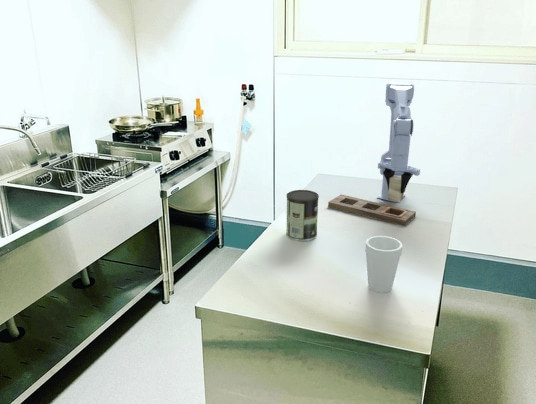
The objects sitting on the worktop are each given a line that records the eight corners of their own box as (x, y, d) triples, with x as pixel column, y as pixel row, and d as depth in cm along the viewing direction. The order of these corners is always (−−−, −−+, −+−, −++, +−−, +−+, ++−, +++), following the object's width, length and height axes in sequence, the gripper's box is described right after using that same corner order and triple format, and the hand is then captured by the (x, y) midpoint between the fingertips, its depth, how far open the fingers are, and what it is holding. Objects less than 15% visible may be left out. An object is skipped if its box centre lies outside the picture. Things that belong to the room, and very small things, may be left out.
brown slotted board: (340, 199, 205) (341, 193, 205) (415, 216, 189) (416, 211, 188) (328, 206, 198) (328, 201, 197) (404, 225, 182) (405, 220, 181)
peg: (392, 196, 189) (394, 175, 186) (403, 198, 187) (405, 177, 184) (387, 199, 186) (389, 177, 183) (398, 202, 184) (400, 180, 181)
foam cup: (373, 274, 150) (377, 232, 145) (403, 285, 144) (408, 242, 139) (356, 287, 143) (359, 244, 138) (387, 299, 137) (391, 254, 133)
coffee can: (316, 228, 179) (317, 189, 174) (318, 241, 170) (319, 200, 164) (285, 228, 179) (286, 189, 174) (285, 241, 170) (286, 200, 165)
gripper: (375, 152, 181) (372, 190, 186) (416, 160, 173) (412, 198, 178) (383, 148, 186) (380, 184, 191) (423, 155, 179) (419, 192, 184)
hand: (396, 191), depth 185 cm, fingers closed on peg, 4 cm apart
